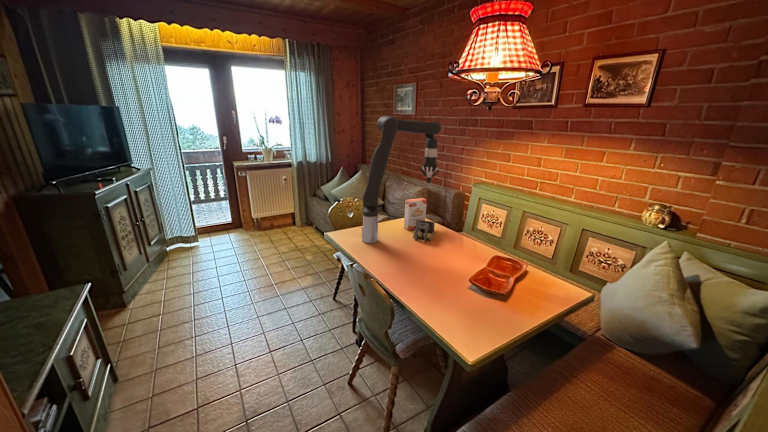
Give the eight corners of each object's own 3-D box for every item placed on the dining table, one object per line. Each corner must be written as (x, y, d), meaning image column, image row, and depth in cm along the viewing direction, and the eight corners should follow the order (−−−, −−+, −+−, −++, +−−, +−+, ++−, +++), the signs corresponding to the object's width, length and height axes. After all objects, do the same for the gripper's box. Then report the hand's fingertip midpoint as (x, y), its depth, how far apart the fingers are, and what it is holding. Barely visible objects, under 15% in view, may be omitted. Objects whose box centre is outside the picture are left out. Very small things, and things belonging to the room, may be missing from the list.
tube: (413, 238, 192) (413, 231, 190) (415, 235, 196) (415, 229, 194) (431, 241, 187) (431, 234, 186) (433, 238, 191) (433, 232, 190)
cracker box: (407, 231, 203) (409, 201, 196) (403, 228, 208) (404, 199, 201) (425, 228, 209) (427, 199, 202) (420, 225, 214) (422, 197, 207)
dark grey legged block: (411, 239, 189) (412, 225, 185) (416, 233, 199) (416, 219, 196) (429, 242, 185) (431, 227, 182) (433, 236, 195) (434, 221, 192)
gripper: (418, 155, 183) (417, 183, 189) (440, 157, 179) (437, 185, 184) (422, 154, 190) (420, 180, 195) (442, 155, 185) (440, 182, 191)
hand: (428, 183), depth 190 cm, fingers closed
